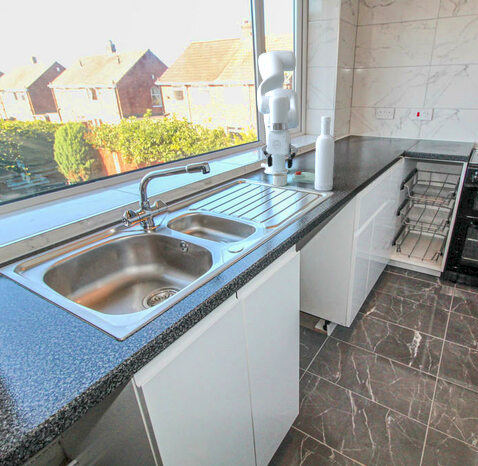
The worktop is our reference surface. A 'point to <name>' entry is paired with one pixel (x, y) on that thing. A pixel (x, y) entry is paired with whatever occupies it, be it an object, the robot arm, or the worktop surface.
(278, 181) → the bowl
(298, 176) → the scale
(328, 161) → the bottle
